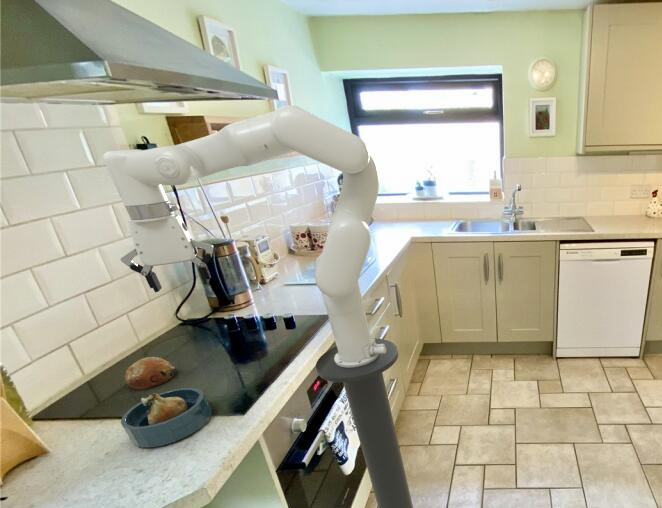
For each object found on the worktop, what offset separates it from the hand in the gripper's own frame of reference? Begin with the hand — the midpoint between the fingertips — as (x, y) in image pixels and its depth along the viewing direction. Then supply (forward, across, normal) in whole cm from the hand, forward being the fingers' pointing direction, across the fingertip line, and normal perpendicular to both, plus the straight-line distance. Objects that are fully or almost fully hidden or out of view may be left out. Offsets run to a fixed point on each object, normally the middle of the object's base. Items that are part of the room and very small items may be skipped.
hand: (183, 286), depth 98 cm
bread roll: (+26, +17, -10) cm, 33 cm away
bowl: (+26, +8, +17) cm, 32 cm away
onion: (+26, +8, +17) cm, 32 cm away
